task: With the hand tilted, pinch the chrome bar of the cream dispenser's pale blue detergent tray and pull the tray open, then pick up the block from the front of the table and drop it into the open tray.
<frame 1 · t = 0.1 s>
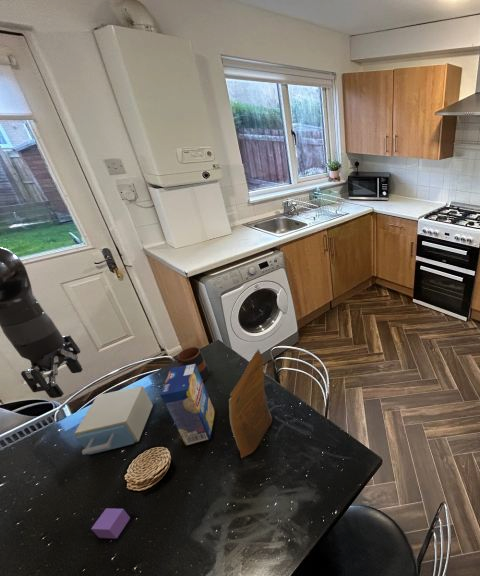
hand: (68, 383, 79), 29 cm above the table, tool pointing down, fingers open, 8 cm apart
mug: (194, 379, 119), on the table
cabinet: (123, 427, 101), on the table
block: (115, 527, 76), on the table
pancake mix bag: (259, 434, 99), on the table
drawer: (112, 428, 95), point 5 cm above the table, slide at 0.0 cm, touching cabinet
blue cereal box: (201, 428, 101), on the table
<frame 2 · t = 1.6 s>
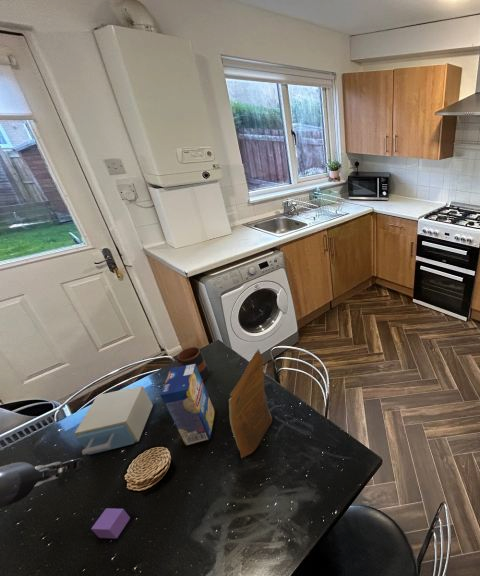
hand: (58, 468, 74), 15 cm above the table, tool tilted 45°, fingers open, 8 cm apart
nothing on the table moved.
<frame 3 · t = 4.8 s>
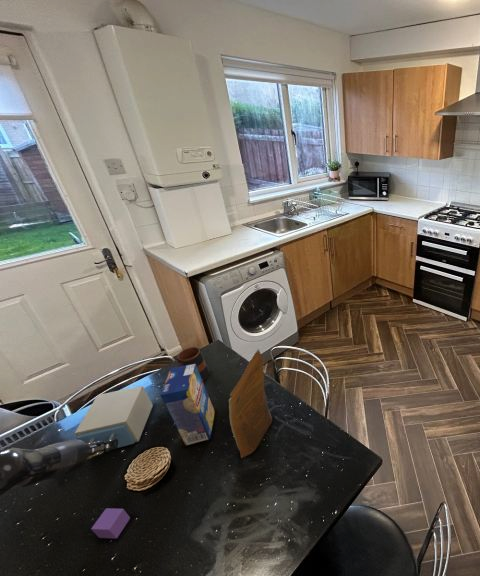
hand: (102, 446, 89), 5 cm above the table, tool tilted 45°, fingers closed on drawer, 6 cm apart
drawer: (112, 428, 95), point 5 cm above the table, slide at 0.0 cm, touching cabinet, gripper
everything else where it was.
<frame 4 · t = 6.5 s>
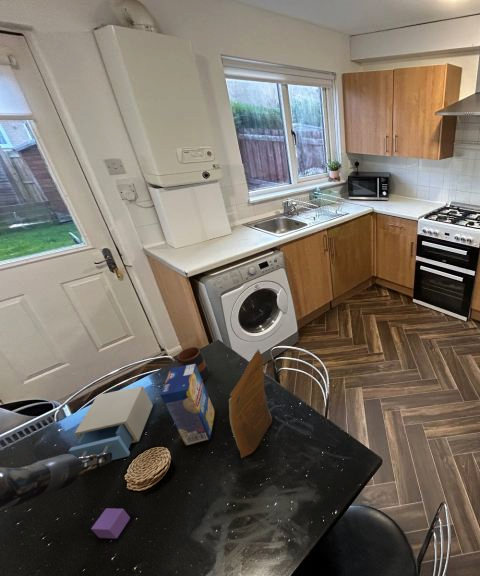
hand: (95, 459, 86), 5 cm above the table, tool tilted 45°, fingers closed on drawer, 6 cm apart
drawer: (106, 440, 92), point 5 cm above the table, slide at 4.1 cm, touching gripper
everything else where it was.
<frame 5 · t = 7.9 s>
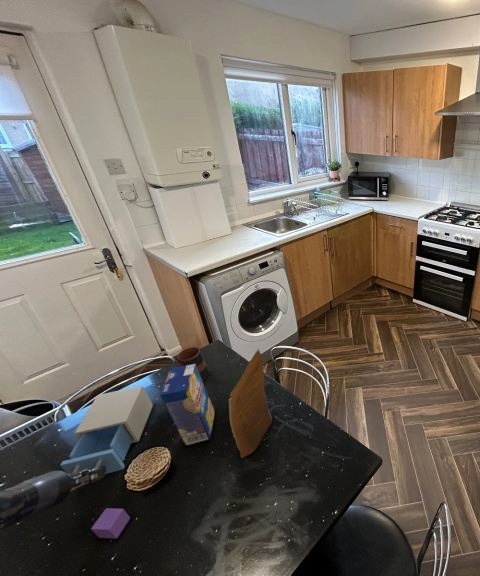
hand: (88, 473, 83), 5 cm above the table, tool tilted 45°, fingers closed on drawer, 6 cm apart
drawer: (100, 453, 88), point 5 cm above the table, slide at 8.3 cm, touching gripper
everything else where it was.
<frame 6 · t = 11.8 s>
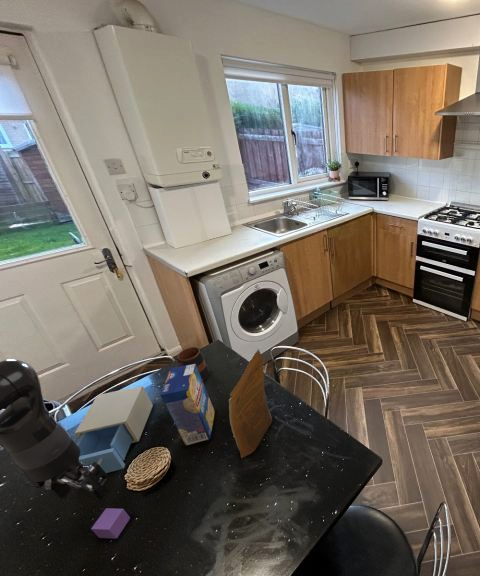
hand: (84, 494, 68), 16 cm above the table, tool pointing down, fingers open, 8 cm apart
drawer: (100, 452, 88), point 5 cm above the table, slide at 8.0 cm
everything else where it was.
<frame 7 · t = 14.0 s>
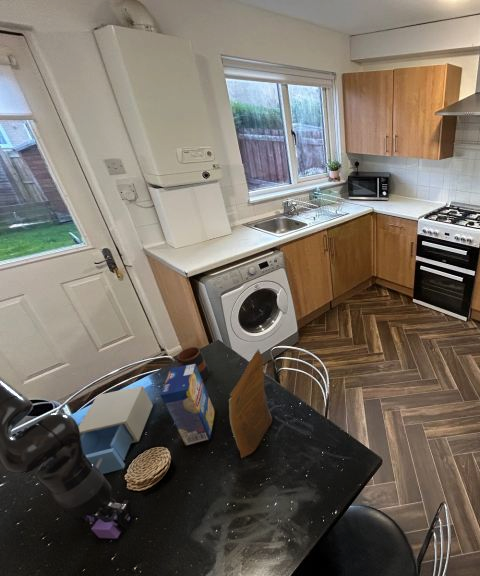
hand: (114, 527, 76), 0 cm above the table, tool pointing down, fingers closed on block, 4 cm apart
block: (115, 527, 76), on the table, touching gripper
everything else where it was.
when the fingers open (9 cm above the table, at t = 19.4 s): block drops 6 cm, resting on drawer.
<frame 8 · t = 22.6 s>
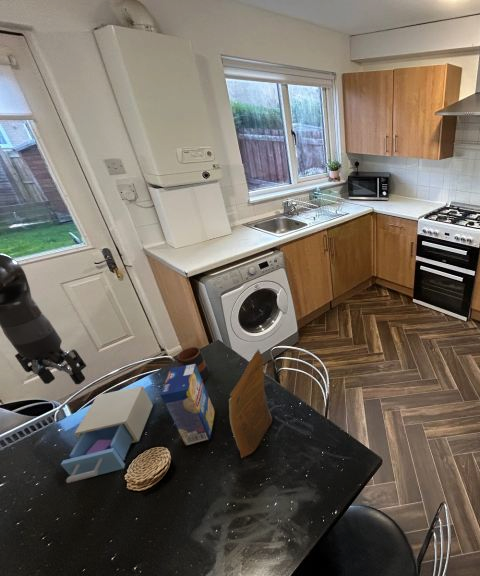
hand: (65, 381, 84), 26 cm above the table, tool pointing down, fingers open, 8 cm apart
block: (106, 456, 90), point 2 cm above the table, touching drawer
drawer: (100, 452, 88), point 5 cm above the table, slide at 8.0 cm, touching block
everything else where it was.
at the end: drawer slide at 8.0 cm; block inside the target area in the drawer (0.2 cm from its centre), point 2.0 cm above the cabinet's base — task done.
